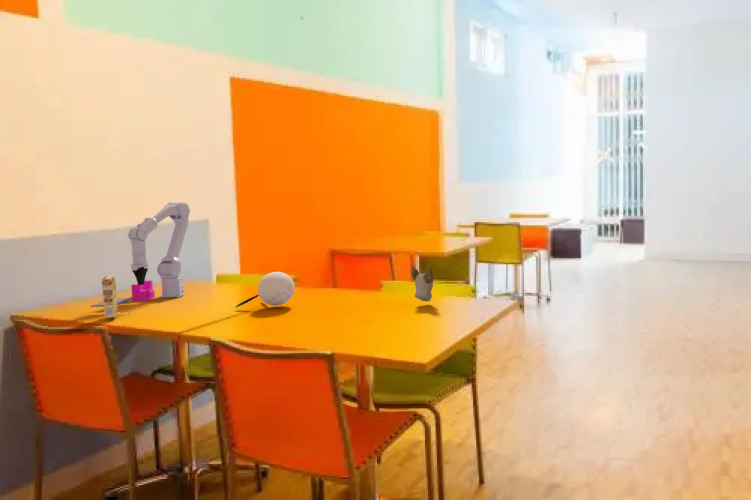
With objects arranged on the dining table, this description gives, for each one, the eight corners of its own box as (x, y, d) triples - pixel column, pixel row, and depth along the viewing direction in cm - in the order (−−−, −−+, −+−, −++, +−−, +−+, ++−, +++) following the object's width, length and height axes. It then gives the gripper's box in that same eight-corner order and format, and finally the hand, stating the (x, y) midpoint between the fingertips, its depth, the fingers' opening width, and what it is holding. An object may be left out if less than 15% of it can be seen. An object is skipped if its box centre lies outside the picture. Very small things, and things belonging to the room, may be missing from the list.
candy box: (115, 317, 279) (112, 278, 278) (104, 318, 278) (101, 278, 277) (118, 313, 287) (115, 275, 286) (107, 314, 286) (104, 276, 285)
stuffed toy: (311, 290, 297) (269, 316, 308) (296, 261, 299) (255, 288, 310) (284, 297, 280) (242, 324, 292) (269, 266, 282) (227, 295, 294)
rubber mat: (134, 298, 328) (134, 296, 328) (116, 305, 308) (116, 303, 308) (110, 299, 328) (110, 297, 328) (90, 306, 309) (90, 304, 309)
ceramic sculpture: (442, 301, 289) (441, 265, 288) (428, 304, 283) (427, 267, 282) (421, 299, 297) (420, 263, 295) (408, 302, 290) (407, 265, 289)
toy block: (146, 301, 320) (145, 284, 319) (132, 301, 320) (131, 285, 320) (158, 296, 335) (157, 280, 334) (145, 296, 335) (144, 280, 335)
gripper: (136, 253, 323) (138, 282, 324) (123, 256, 309) (125, 287, 310) (151, 252, 323) (153, 282, 324) (139, 255, 308) (141, 286, 309)
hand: (141, 284), depth 317 cm, fingers closed
